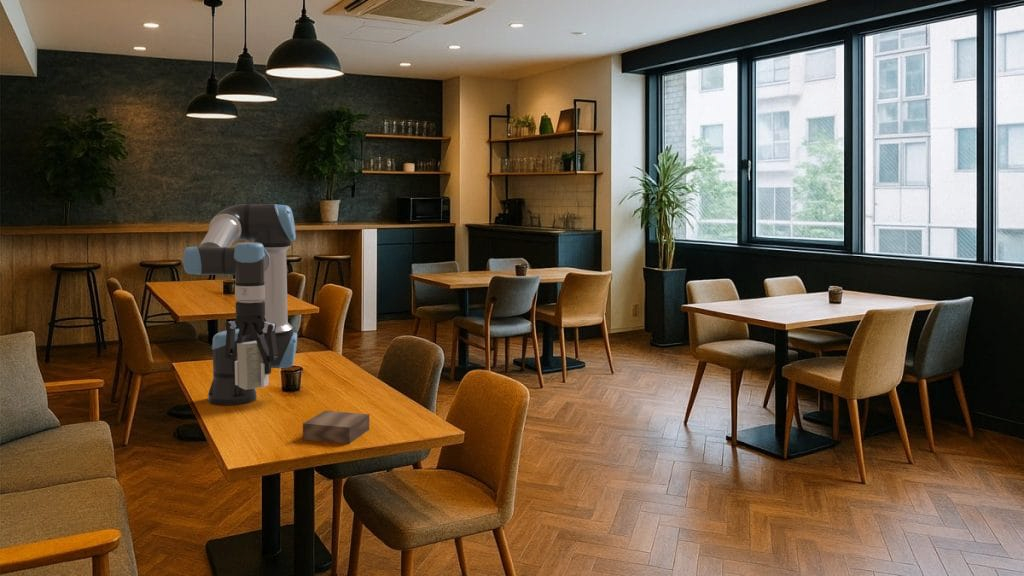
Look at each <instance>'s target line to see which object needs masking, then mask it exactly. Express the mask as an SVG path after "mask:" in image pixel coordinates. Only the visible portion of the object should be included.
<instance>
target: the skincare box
mask: <svg viewBox="0 0 1024 576" xmlns="http://www.w3.org/2000/svg"><path fill="white" fill-rule="evenodd" d="M237 360H238V387H240V388H242V389H245V390H247V389H253V388H255V389H257V388H262V387H261V363H262V362H264V361H263V358H262V355H261V353H260V350H259V347H258V344H257V341H250V342H243V343H239V344H238V343H237Z"/></svg>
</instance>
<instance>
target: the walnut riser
mask: <svg viewBox="0 0 1024 576" xmlns="http://www.w3.org/2000/svg"><path fill="white" fill-rule="evenodd" d="M368 431H370V414H369V413H361V412H360V413H358V412H357V413H356V412H348V411H347V412H346V411H333V410H324V411H322V412H320V413H319V414H317V415H315V416H313V417H311V418H310V419H308V420H306V421H305V422H302V440H305V441H313V442H315V441H316V442H325V443H327V442H328V443H336V444H337V443H339V444H347V445H348V444H349V445H350V444H351V443H353V442H354V441H356V440H358V438H360V437H361V436H363V435H364V434H365V433H367V432H368Z"/></svg>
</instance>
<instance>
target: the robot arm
mask: <svg viewBox="0 0 1024 576" xmlns="http://www.w3.org/2000/svg"><path fill="white" fill-rule="evenodd" d="M296 237H297V235H296V224H295V219H294V214H293V211H292V208H291V207H290V206H289V205H286V204H276V203H268V204H267V203H266V204H265V203H258V204H257V203H255V204H254V203H253V204H252V203H251V204H250V203H249V204H248V203H241V204H234V205H232V206H228V207H226V208H224V209H222V210H220V211H219V212H218V213H217V214H215V215H214V216H213V217H212V219H211V220H210V222H209V226H208V231H207V233H206V234H205V236H204V238H203V239H202V241H201V243H200V244H199V245H198V246H188V247H186V248H185V249H184V250H183V257H182V260H183V261H182V264H183V269H184V271H185V273H186V274H189V275H198V276H201V275H211V276H212V275H234V279H235V280H234V281H235V282H234V284H235V285H234V290H235V292H234V294H235V300H236V302H235V316H236V318H235V320H230V321H227V322H225V324H224V325H225V329H226V330H223V331H220V332H218V333H216V334H214V336H213V338H212V346H211V350H212V373H213V374H212V382H211V384H210V387H209V390H208V394H207V402H208V403H209V404H212V405H218V406H237V405H243V404H248V403H252V402H254V401H256V400H257V390H256V388H253V389H247V390H245V389H242V388H240V387H238V360H237V343H238V344H239V343H243V342H250V341H257V344H258V347H259V350H260V353H261V355H262V358H263V361H264V362H262V363H261V387H260V388H265V387H267V386H269V384H270V383H269V381H270V380H269V378H270V377H269V375H270V374H271V373H272V369H285V368H290V367H292V366H293V365H294V362H295V358H296V351H297V347H298V346H297V344H298V333H297V332H294V330H293V326H292V325H291V324H290V323H289V321H288V320H289V319H288V317H289V316H288V313H289V312H288V278H287V277H288V274H287V273H288V271H287V251H288V250H289V249H290V248H291V247H292V242H294V241H296ZM236 241H245V242H237V243H236V244H235V245H234V246H233V247H231V246H232V245H233V243H235V242H236ZM246 241H248V242H246ZM249 241H253V242H249Z"/></svg>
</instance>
